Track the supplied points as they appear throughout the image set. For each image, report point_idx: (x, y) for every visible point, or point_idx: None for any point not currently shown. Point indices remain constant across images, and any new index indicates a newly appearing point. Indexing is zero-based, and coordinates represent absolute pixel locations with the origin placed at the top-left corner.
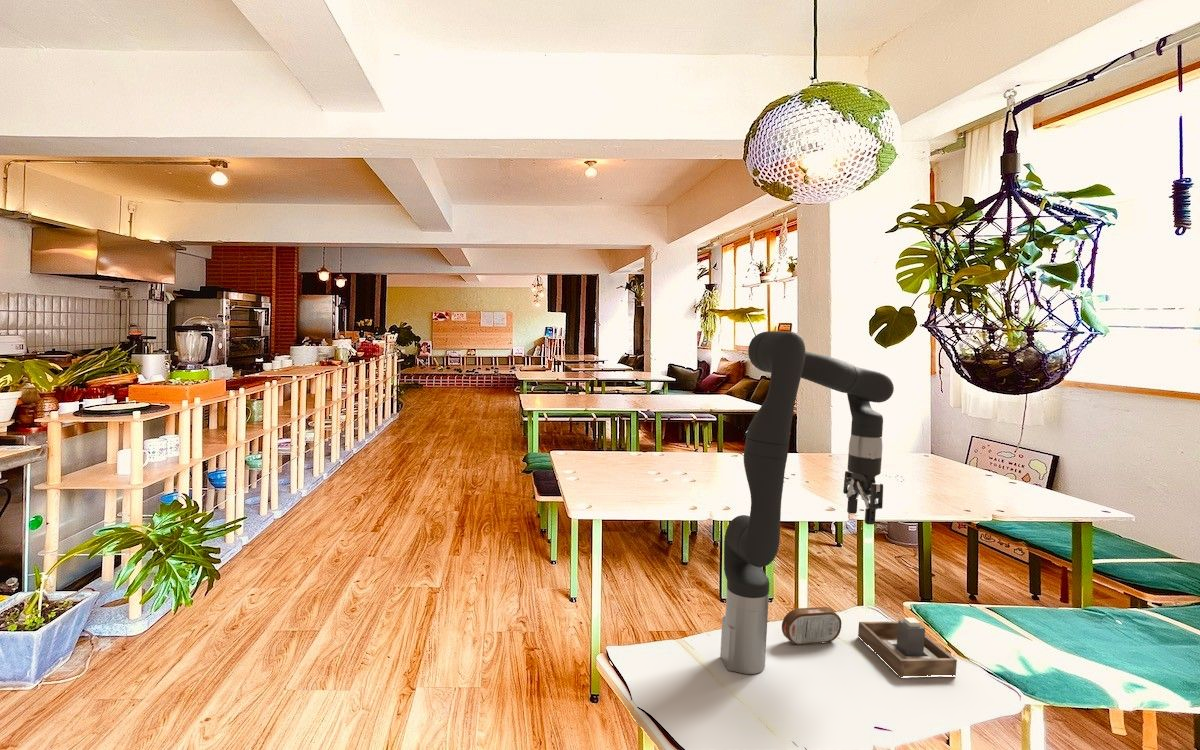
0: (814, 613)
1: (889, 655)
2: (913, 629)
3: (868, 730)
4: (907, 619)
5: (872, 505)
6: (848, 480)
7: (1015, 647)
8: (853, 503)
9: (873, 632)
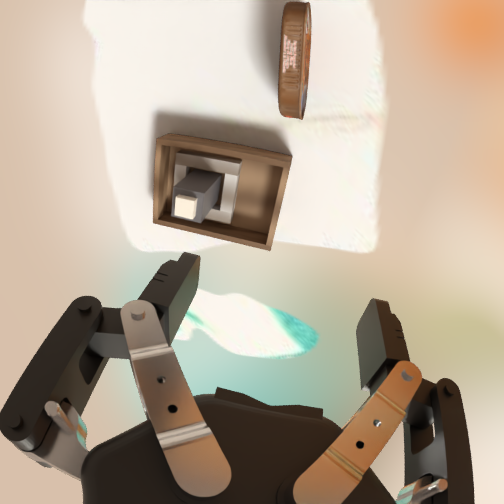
0: (281, 49)
1: (190, 141)
2: (173, 195)
3: (91, 31)
4: (187, 201)
5: (71, 308)
6: (437, 470)
7: (220, 334)
8: (369, 354)
9: (247, 159)
